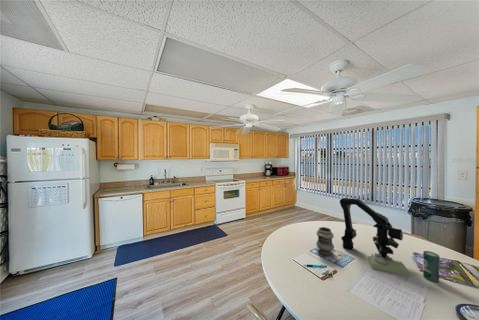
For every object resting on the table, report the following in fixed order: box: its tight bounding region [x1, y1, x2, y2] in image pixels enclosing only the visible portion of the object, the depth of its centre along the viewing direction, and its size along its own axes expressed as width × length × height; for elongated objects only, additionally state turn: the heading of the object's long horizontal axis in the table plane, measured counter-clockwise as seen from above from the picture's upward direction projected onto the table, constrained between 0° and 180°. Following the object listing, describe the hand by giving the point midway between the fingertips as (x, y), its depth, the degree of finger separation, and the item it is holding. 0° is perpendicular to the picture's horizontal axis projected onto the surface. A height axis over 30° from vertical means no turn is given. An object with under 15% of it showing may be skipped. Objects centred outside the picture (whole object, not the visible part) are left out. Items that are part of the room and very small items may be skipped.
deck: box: [367, 254, 409, 277], centre depth 114 cm, size 18×14×4 cm
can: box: [422, 250, 440, 283], centre depth 101 cm, size 6×6×15 cm
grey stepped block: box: [374, 252, 391, 259], centre depth 119 cm, size 7×5×4 cm
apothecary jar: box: [316, 226, 335, 257], centre depth 130 cm, size 12×12×18 cm
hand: (382, 256), depth 119 cm, fingers open, 6 cm apart
